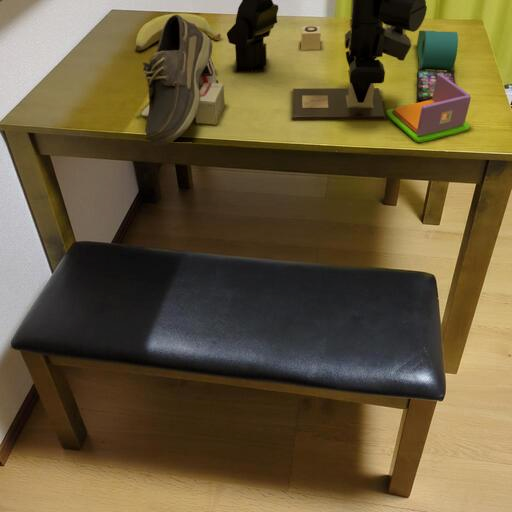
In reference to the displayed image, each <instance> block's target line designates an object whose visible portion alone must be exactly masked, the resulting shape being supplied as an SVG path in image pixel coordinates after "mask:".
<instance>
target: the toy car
mask: <svg viewBox="0 0 512 512" xmlns="http://www.w3.org/2000/svg"><path fill="white" fill-rule="evenodd" d="M211 57H212V56H211ZM211 57H210V59H209V62H208V64H207V65H206V67H205V69H204V70H203V72H202V74H201V76H200V79H199V91H200V89H201V87H202V85H203V83H219V81H218V79H217V76H216V72H215V67H214V63H213V61H212V58H211Z"/></svg>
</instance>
